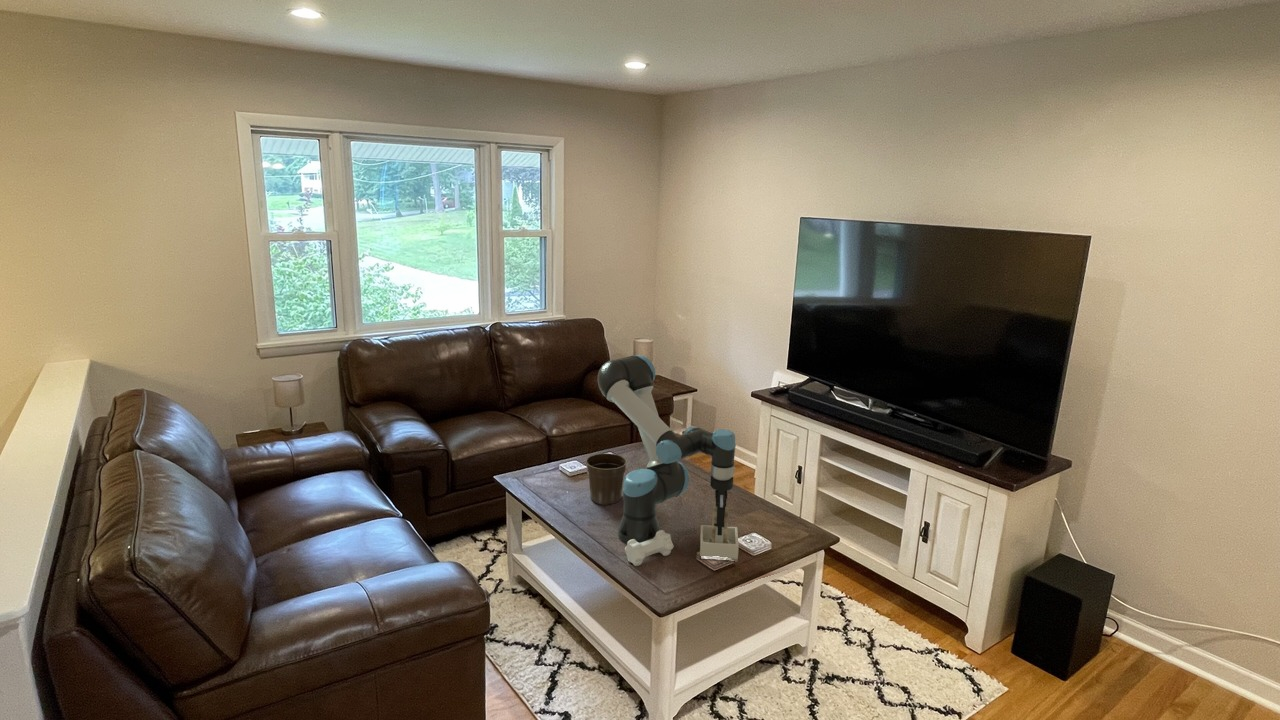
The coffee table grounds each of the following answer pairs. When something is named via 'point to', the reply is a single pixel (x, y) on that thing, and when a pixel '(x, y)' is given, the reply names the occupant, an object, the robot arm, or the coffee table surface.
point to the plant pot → (606, 477)
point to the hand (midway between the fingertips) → (718, 539)
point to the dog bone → (648, 547)
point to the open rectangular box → (719, 548)
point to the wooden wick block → (715, 523)
